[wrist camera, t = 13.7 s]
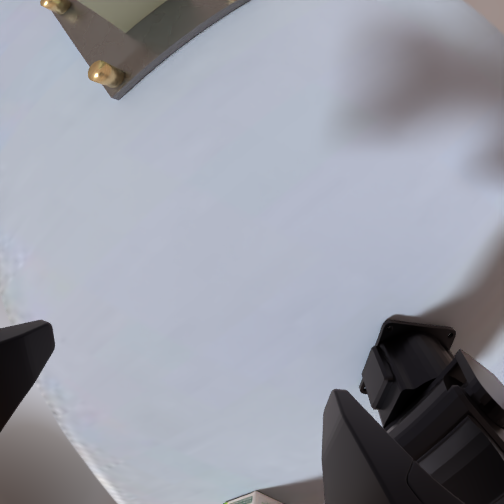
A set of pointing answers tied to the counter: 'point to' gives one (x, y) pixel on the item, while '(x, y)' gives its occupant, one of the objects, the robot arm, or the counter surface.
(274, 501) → the syrup box
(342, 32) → the counter surface
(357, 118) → the counter surface
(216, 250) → the counter surface
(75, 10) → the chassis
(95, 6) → the sage block
